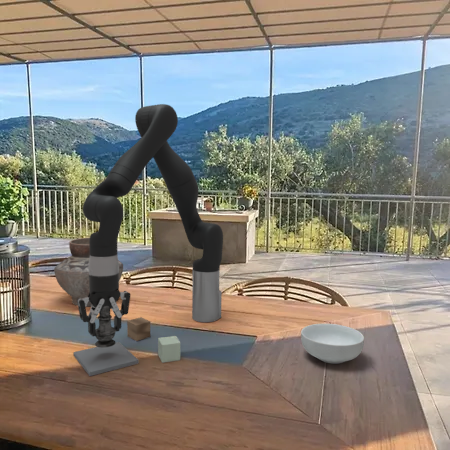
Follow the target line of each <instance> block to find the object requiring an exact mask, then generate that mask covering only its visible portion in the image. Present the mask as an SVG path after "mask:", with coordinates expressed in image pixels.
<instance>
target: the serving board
mask: <svg viewBox="0 0 450 450" xmlns="http://www.w3.org/2000/svg"><path fill="white" fill-rule="evenodd" d="M115 342H116V343H115V345H113V346H110V347H105V348H101V347H97V346H94V347H90V348H86V349H82V350H77V351H73V357H74V358H75V359H76V360H77V362H78V363H79V365H80V366H81V367H82V368H83V370H84V371H85V372H86V374H87V375H88V377H92V376H97V375H100V374H104V373H107V372H111V371H115V370H118V369H119V370H120V369H124V368H126V367H130V366H134V365H138V364H140V363H139V362H140V361H139V359H138V358H137V357H136V355H134V354H133V353H132V352H131V351H129V349H128V348H126V346H124V345H123V344H122V343H121V342H120V341H118V342H117V341H115Z"/></svg>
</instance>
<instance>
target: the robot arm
mask: <svg viewBox="0 0 450 450" xmlns="http://www.w3.org/2000/svg"><path fill="white" fill-rule="evenodd" d="M134 122H135V125H136V129H137V131H138V133H139V136H140V137H141V138H140V139H139V140H138V141H137V142H136V143H134V144H133V146H131V147H130V148H129V149H128V150H127V151H125V152H124V153H123V154H122V155H121V156H120V157H119V158H118V159H117V161H116V162H115V164H114V165H113V167H112V168H111V170H110V171H109V173H108V175H107V176H106V178H104V180H103V181H101V182H100V183H99V184H98V185H97V186H96V187H95V188H94V189H93V190H92V191H91V192H90V193H88V195H87V197H86V198H85V200H84V202H83V206H82V213H83V215H84V217H85V218H86V219H87V220H89V221H90V222H95V223H99V227H98V231H94V232H92V233H91V234H90V236H89V238H90V240H89V249H90V258H89V291H90V292H89V295H88V297H86V298H82V299H81V298H78V299H77V303H78V306H77V308H78V313H79V319H80V320H81V321H82V322H84V323H87V331H88V334H89V335H91V337H96V329H97V328H96V325H97V324H96V322H95V321H96V319H97V318H98V316H99V312H100V311H101V310H102V309H103V307H104V306H109V307H110V310H112V313H113V314H114V316H113V327H114V328H116V332H120V329H122V317H124V316H126V315H128V314H129V308H130V303H131V302H130V301H131V295H132V294H131V293H130V292H129V291H127V290H124V291H120V289H119V288H120V281H119V262H118V260H119V256H118V237H119V234H120V230H121V225H122V221H123V218H124V208H123V207H124V206H123V204H122V203H121V201H120V199H119V198H121V197H125V196H127V195H128V194H129V193H130V192H131V190H132V188H133V187H134V185H135V184H136V182H137V181H138V179H139V178H140V175H141V174H142V173H143V171H144V170H145V168H146V167H147V165H148V164H149V163H150V161H151V160H152V158H153V159H154V162H155V164H156V166H157V169H158V170H159V172H160V175H161V176H162V179H163V181H164V183H165V186H166V188H167V190H168V193H169V195H170V197H171V198H172V202H173V203H174V205H175V208H176V210H177V212H178V215H179V218H180V220H181V222H182V227H183V229H184V232H185V235H186V238H187V240H188V243H189V245H191V246H192V247H193V248H195V249H197V250H203V251H202V256H201V257H200V258H197V259H194V260H193V262H192V286H191V287H192V294H191V295H192V298H191V299H192V301H191V303H192V304H191V305H192V306H191V310H192V311H191V314H192V316H191V317H192V320H194V321H196V322H199V323H211V322H216V321H218V320H219V319H221V318H222V291H221V290H220V274H221V273H220V270H221V269H220V268H221V267H220V266H221V263H222V259H223V249H224V248H223V247H224V232H223V229H222V227H221V226H220V225H219V224H217V223H212V222H206V221H203V220H202V218H201V217H200V214H199V211H198V208H197V205H198V203H197V202H198V198H199V185H198V182H197V180H196V177H195V176H194V173H193V170H192V168H191V167H190V165H189V164H188V163H187V162H186V161H185V160H184V159H182V158H181V156H180V155H179V154H177V153H176V151H175V150H174V149H173V148H172V147H171V145H170V144H169V142H168V140H169V139H170V138H171V137H172V135H173V134H174V133H175V131H176V130H177V127H178V124H179V123H178V122H179V120H178V114H177V112H176V110H175V109H174V108H173V106H171V105H170V104H165V103H161V104H160V103H159V104H153V105H147V106H142V107H140V108H139V109H138V110H137V111H136V113H135V121H134ZM119 299H121V306H120V308H119V305H118V304H117V302H118V300H119ZM88 301H90V302H91V304H92V306H91V307H89V308H90V309H89V313H88V314H87V308H86V306H87V303H88Z"/></svg>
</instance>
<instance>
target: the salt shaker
mask: <svg viewBox="0 0 450 450" xmlns="http://www.w3.org/2000/svg"><path fill="white" fill-rule="evenodd" d="M112 318H113V316H112V315H111V309H110V307H109V306H104V307H103V309H102V310H101V311H100V312H99V314H98V315H97V319H98V327H97V328H96V336H95V338H96V340H97V341H96V342H95V343H94V345H95V347H101V348H105V347H110V346H113V345H115V343H116V342H117V341H115V340H114V338H115V335H116V332H117V331H116V328H114V326H112Z"/></svg>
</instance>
